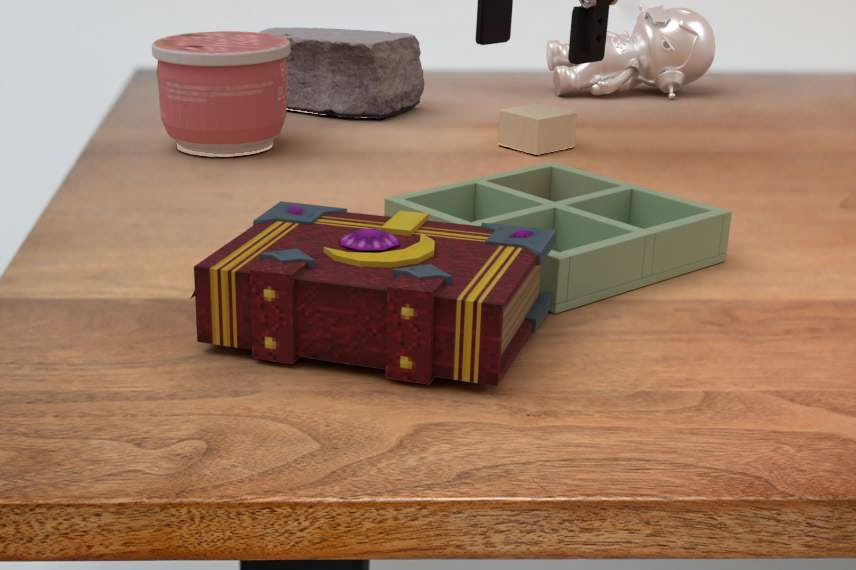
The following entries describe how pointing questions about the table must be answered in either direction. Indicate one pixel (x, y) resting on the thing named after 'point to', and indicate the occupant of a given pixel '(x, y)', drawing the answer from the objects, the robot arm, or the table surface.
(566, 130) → the block
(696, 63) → the figurine
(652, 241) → the grid
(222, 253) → the decorative book
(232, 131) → the container
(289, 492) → the table surface
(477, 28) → the robot arm
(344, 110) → the decorative stone
